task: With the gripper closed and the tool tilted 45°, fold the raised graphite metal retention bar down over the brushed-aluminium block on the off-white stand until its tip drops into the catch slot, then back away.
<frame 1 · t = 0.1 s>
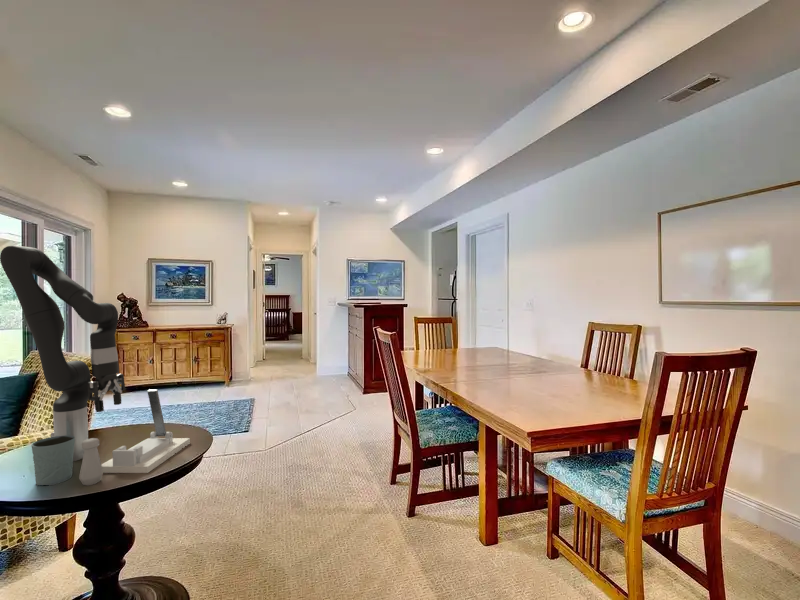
hand: (109, 407, 142), 17 cm above the table, tool pointing down, fingers open, 8 cm apart
retention bar: (157, 413, 149), point 13 cm above the table, hinge at 75.0°
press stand: (147, 456, 143), on the table
pale green planter pot: (54, 479, 127), on the table
salt shaker: (91, 483, 125), on the table
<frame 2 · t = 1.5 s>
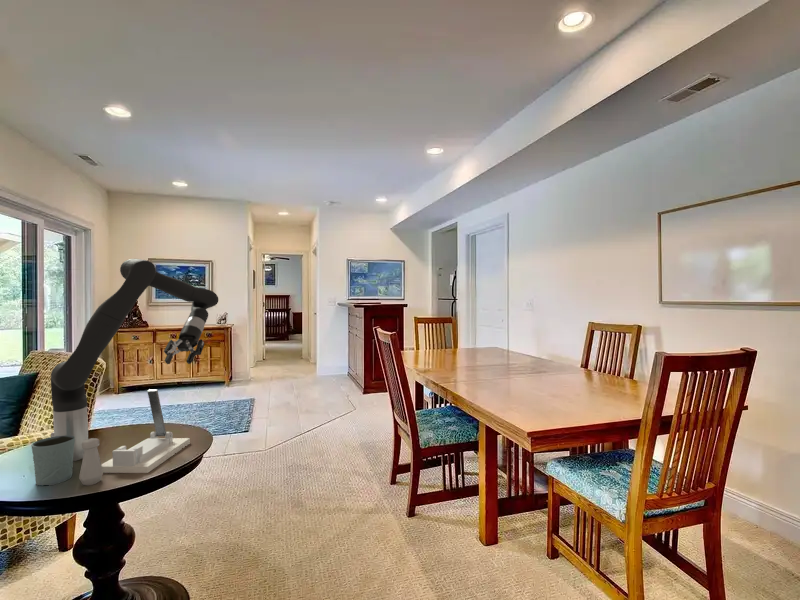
hand: (177, 363, 161), 29 cm above the table, tool tilted 45°, fingers open, 8 cm apart
nothing on the table moved.
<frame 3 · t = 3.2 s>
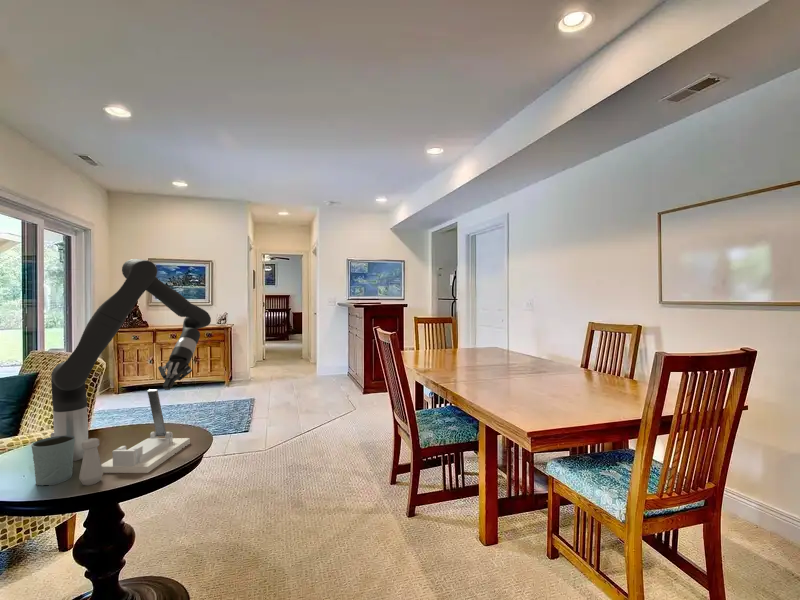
hand: (166, 388, 155), 21 cm above the table, tool tilted 45°, fingers closed
nothing on the table moved.
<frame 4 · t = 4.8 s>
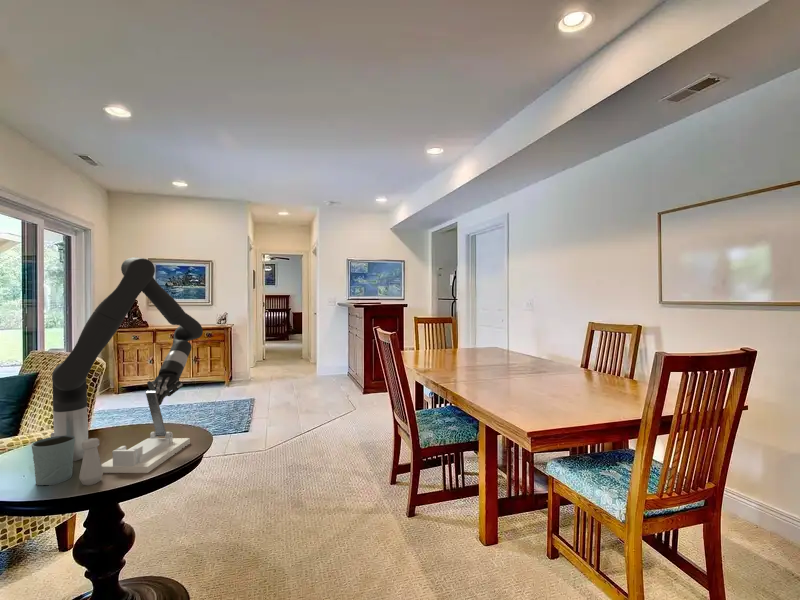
hand: (155, 405, 148), 16 cm above the table, tool tilted 45°, fingers closed
retention bar: (156, 414, 148), point 13 cm above the table, hinge at 71.5°, touching gripper
everything else where it was.
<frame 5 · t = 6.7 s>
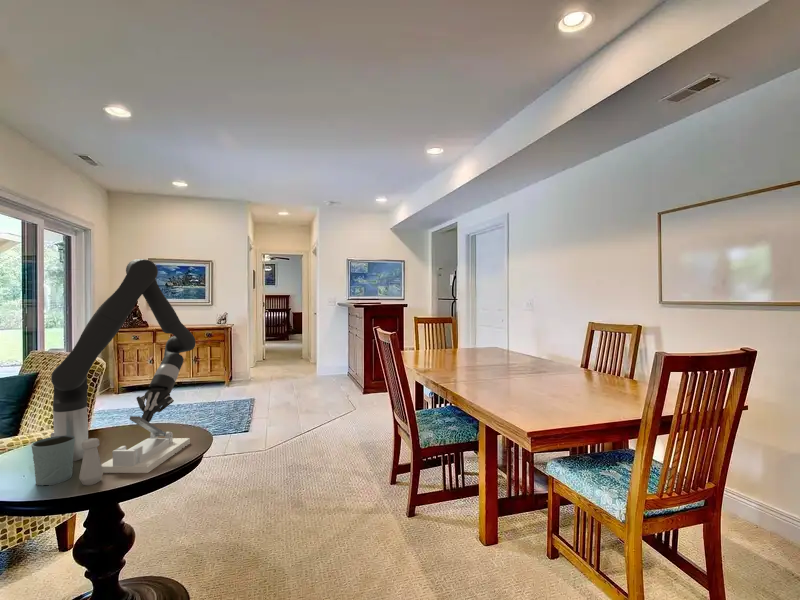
hand: (144, 422, 142), 12 cm above the table, tool tilted 45°, fingers closed
retention bar: (148, 426, 144), point 10 cm above the table, hinge at 36.2°, touching gripper
everything else where it was.
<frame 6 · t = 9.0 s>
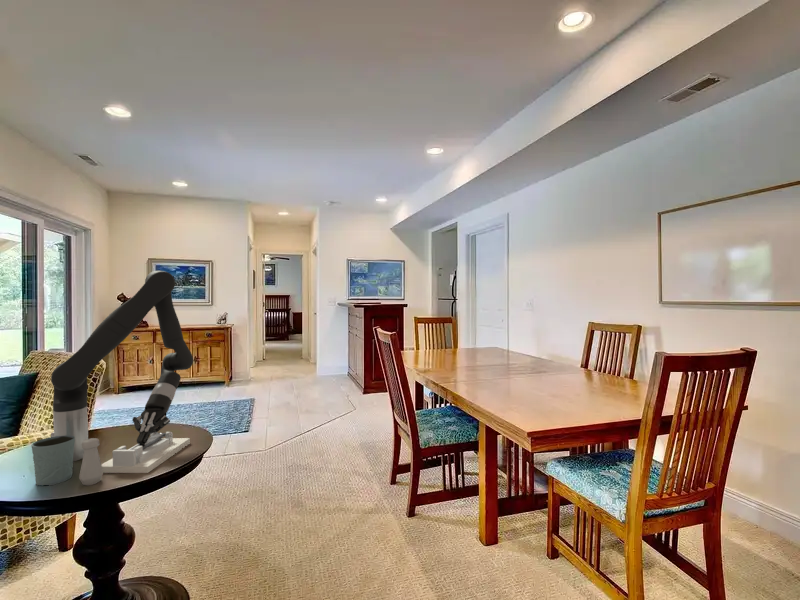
hand: (140, 443, 140), 6 cm above the table, tool tilted 45°, fingers closed
retention bar: (146, 443, 143), point 5 cm above the table, hinge at -1.0°, touching gripper, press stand
everything else where it was.
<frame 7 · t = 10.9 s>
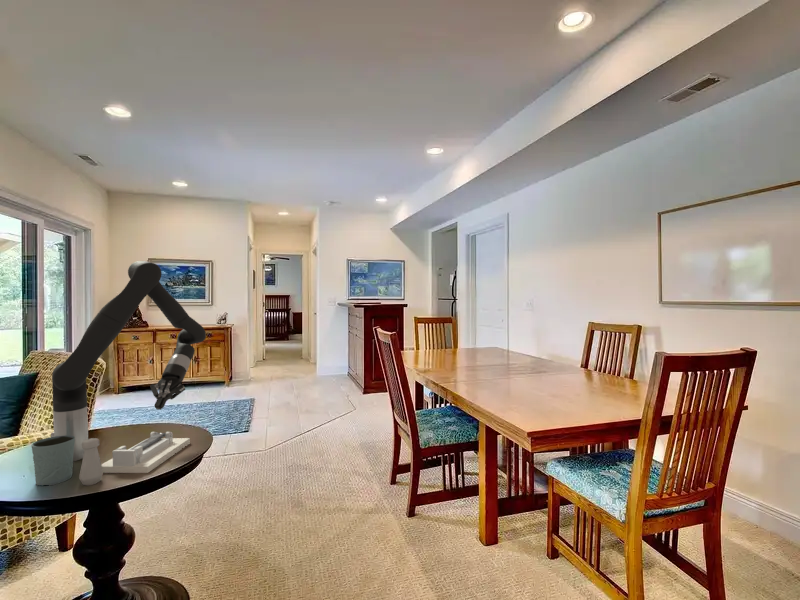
hand: (157, 408, 149), 15 cm above the table, tool tilted 45°, fingers closed
retention bar: (146, 443, 143), point 5 cm above the table, hinge at -1.0°, touching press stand
everything else where it was.
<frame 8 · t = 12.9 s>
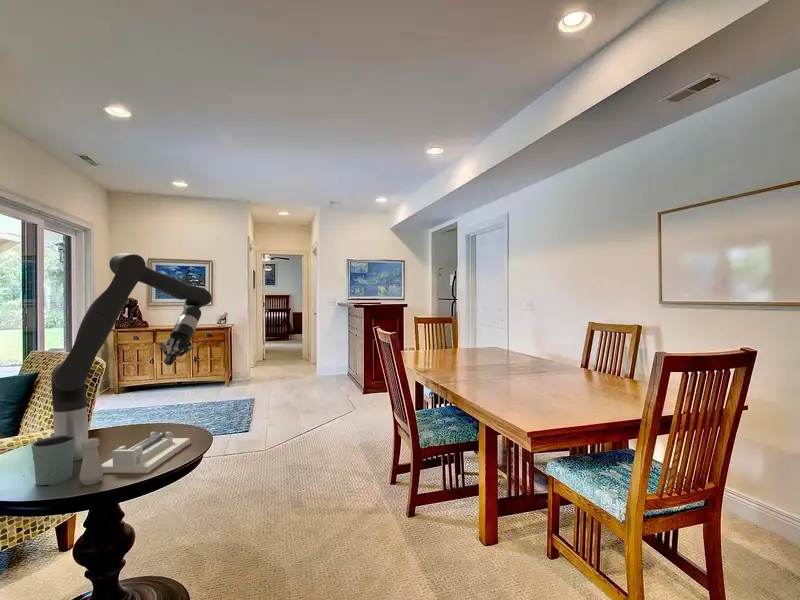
hand: (167, 364, 156), 30 cm above the table, tool tilted 45°, fingers closed
nothing on the table moved.
at the end: retention bar at -1° (first picture: +75°) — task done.
